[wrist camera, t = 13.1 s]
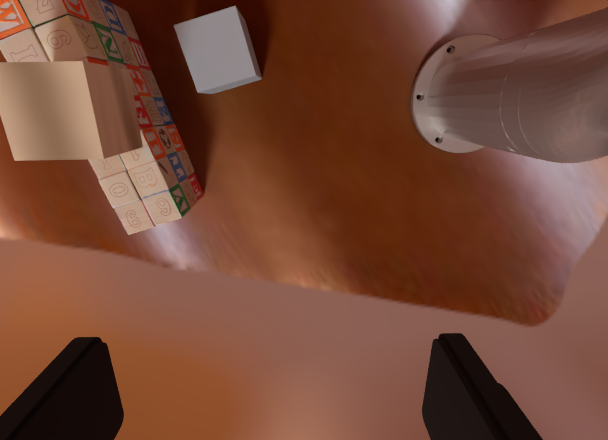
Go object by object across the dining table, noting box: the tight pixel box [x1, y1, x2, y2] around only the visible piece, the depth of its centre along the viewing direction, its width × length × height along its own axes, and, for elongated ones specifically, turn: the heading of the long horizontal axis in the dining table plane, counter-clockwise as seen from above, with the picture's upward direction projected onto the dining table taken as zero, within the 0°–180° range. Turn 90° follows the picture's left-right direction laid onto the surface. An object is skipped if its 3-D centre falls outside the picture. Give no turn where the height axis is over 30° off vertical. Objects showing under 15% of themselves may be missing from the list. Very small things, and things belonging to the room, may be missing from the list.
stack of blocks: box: [0, 0, 204, 235], centre depth 33 cm, size 21×6×12 cm, turn 17°
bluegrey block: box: [174, 6, 262, 94], centre depth 34 cm, size 6×6×6 cm
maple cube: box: [0, 61, 143, 161], centre depth 24 cm, size 6×6×6 cm
